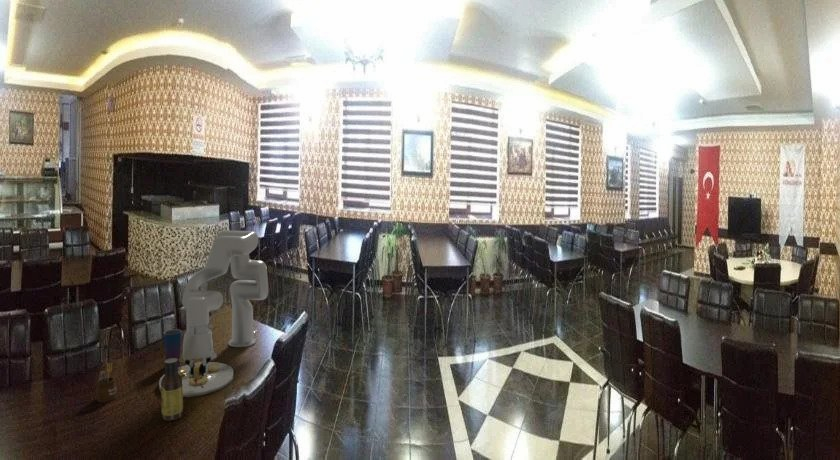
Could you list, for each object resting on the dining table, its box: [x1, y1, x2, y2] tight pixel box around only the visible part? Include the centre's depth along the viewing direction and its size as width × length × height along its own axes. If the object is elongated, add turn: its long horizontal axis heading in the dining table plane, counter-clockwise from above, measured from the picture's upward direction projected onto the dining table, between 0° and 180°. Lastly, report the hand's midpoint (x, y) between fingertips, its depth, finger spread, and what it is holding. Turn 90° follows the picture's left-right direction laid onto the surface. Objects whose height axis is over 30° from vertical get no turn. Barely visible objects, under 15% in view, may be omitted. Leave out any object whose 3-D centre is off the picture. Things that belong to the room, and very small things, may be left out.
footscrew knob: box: [189, 361, 208, 386], centre depth 163 cm, size 7×6×7 cm
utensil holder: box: [95, 362, 117, 403], centre depth 153 cm, size 6×6×12 cm
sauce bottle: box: [160, 358, 184, 422], centre depth 143 cm, size 6×6×20 cm
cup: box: [162, 328, 183, 367], centre depth 182 cm, size 7×7×15 cm
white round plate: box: [158, 361, 234, 398], centre depth 169 cm, size 26×26×4 cm
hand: (198, 375), depth 163 cm, fingers closed on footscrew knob, 2 cm apart
